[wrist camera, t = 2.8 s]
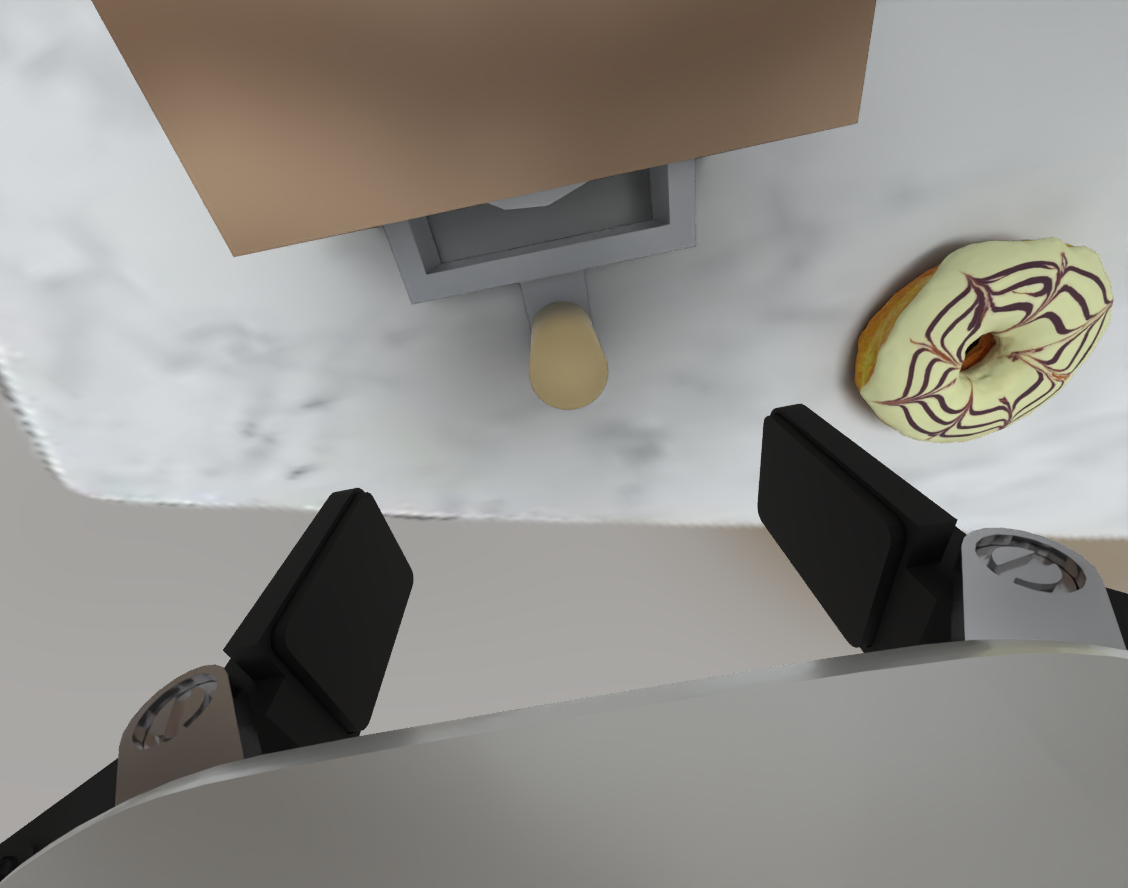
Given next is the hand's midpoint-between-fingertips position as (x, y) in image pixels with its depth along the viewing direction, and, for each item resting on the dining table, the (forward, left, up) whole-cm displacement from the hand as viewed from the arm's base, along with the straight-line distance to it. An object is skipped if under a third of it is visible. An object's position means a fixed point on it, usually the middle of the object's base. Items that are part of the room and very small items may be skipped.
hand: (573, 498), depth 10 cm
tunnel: (-9, 0, -14) cm, 17 cm away
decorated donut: (+5, +21, -14) cm, 26 cm away
